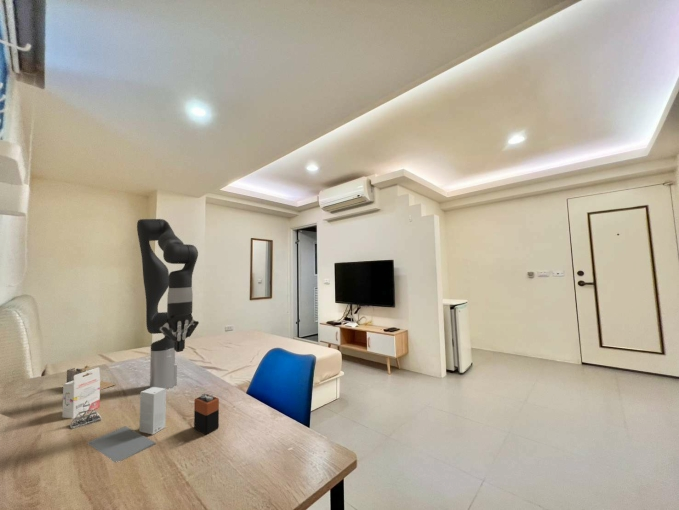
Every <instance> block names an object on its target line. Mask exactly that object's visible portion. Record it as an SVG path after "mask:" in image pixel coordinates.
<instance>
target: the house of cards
mask: <svg viewBox="0 0 679 510" xmlns="http://www.w3.org/2000/svg"><path fill="white" fill-rule="evenodd" d="M86 402H88V401H86ZM86 402H85V404H86ZM88 403H89V402H88ZM85 404H84V405H85ZM84 405H83V407H86V406H89V408H90V403H89V404H88V405H85V406H84ZM88 411H90V412H88ZM84 412H85V413H84ZM81 413H84V414H83V415H80V414H81ZM86 414H87V415H86ZM78 415H80V416H78ZM77 416H78V417H77ZM77 416H76V417H75V418H73V419H72V421H71V423H70V424H69V427H70V429H77V428H80V427H83V426H87V425H92V424H94V423H95V424H96V423H99V422H101V421H102V415H101V414H99V413H98V411H96V409H90V410H87V411H83V412H79V413H78V414H77Z"/></svg>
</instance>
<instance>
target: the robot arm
mask: <svg viewBox="0 0 679 510" xmlns="http://www.w3.org/2000/svg"><path fill="white" fill-rule="evenodd" d="M136 231H137V237H138V243H139V248H140V253H141V254H140V255H141V263H142V279H143V285H144V294H145V304H146V305H145V307H146V310H145V312H146V313H145V315H146V319H145V320H146V323H145V324H146V330H147V333H149V334H153V335H155V334H158V335H159V334H162V335H163V336H164V337H163V338H161V339H159V340H156V341H154V342H152V343H151V345H150V362H149V363H150V365H149V367H150V368H149V388H151V387H158V388H165V389H167V390H169V388H170V389H172V388H173V387H175V386H177V383H178V363H176V353H180V352H183V351H184V350H185V345H186V339H187V338H190V337H191V335H193V333H194V331H195V330H196V328H197V327H198V325H199V323H200V322H199V320H195V319H194V318H193V315H192V313H193V299H194V298H193V297H194V296H193V294H194V293H193V274H194V269H195V266H196V264H197V261H198V256H199V251H198V248H197V246H195V245H194V244H184V242H183V240H181V238H179V237H178V236H177V235H176V234H175V232H174V230H173V228H172V227H171V225H170V223H169V222H168V221H167V220H165V219H163V218H142V219H141V218H140V219H139V220H137V224H136ZM153 241H155V242H157V245H158V247H159V248H160V250H161V251H162V252H163V260H164V261H165V262H166V263H168V264H173V265H183V267H182V268H180V269H179V270H174V271H173V270H172V271H170V273H169V269H168V267H167V266H166V264H165V263H164V262H163V261H162V260H161V259H160V258H159V257H158V255H156V253H155V252H154V251H153V249H152V247H151V244H150V242H153ZM166 292H167V296H166V297H167V303H166V305H167V306H166V309H167V310H166V311H164V312H161V311H160V312H159V310H158V309H159V303H160V301H161V300H162V298H163V296H164V295H165V293H166Z"/></svg>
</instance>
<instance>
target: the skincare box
mask: <svg viewBox="0 0 679 510" xmlns="http://www.w3.org/2000/svg"><path fill="white" fill-rule="evenodd" d="M139 395H140V399H139V401H140V402H139V426H138V427H139V430H138V431H139V432H140V433H143V434H148V435H155V434H156V433H158V432H160V431H162V430H163V429H165V428H166V415H167V414H166V413H167V412H166V409H167V408H166V407H167V405H166V404H167V403H166V401H167V390H166V389H165V388H158V387H151V388H150V387H149V388H146V389H145V390H142V391H140V394H139Z"/></svg>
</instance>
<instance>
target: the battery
mask: <svg viewBox="0 0 679 510" xmlns="http://www.w3.org/2000/svg"><path fill="white" fill-rule="evenodd" d="M193 405H194V410H193V411H194V412H193V413H194V414H193V415H194V416H193V417H194V419H193V420H194V421H193V426H194V427H193V428H194V429H195V430H196V431H198V432H200V433H202V434H204V435H209V434H210V433H212V432H214V431H215V430H218V429H219V427H220V426H219V425H220V424H219V423H220V420H219V419H220V412H219V411H220V410H219V409H220V406H219V405H220V399H219V398H218V397H217V396H214V395H213V394H212V395H210V394H208V393H202V394H200V396H199V397H196V398H194V404H193Z"/></svg>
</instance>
